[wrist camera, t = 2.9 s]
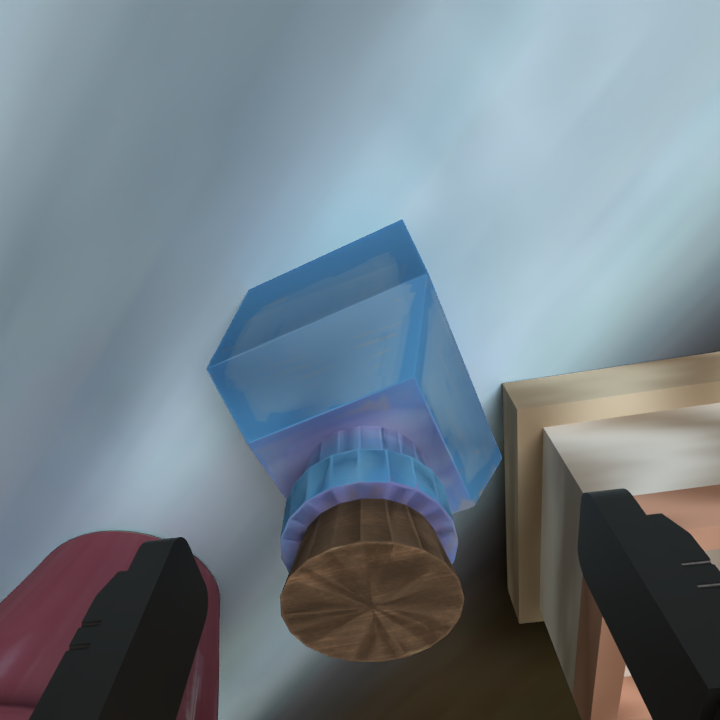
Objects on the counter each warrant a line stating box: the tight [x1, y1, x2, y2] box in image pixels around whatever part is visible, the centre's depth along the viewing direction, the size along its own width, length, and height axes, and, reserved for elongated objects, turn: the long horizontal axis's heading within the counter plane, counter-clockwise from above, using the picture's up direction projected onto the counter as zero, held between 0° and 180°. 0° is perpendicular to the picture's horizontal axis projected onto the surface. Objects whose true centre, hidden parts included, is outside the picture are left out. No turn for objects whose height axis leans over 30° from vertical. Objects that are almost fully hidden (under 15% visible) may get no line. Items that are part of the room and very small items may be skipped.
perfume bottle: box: [207, 220, 502, 662], centre depth 14 cm, size 6×6×12 cm
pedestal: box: [502, 352, 720, 720], centre depth 20 cm, size 13×13×8 cm
